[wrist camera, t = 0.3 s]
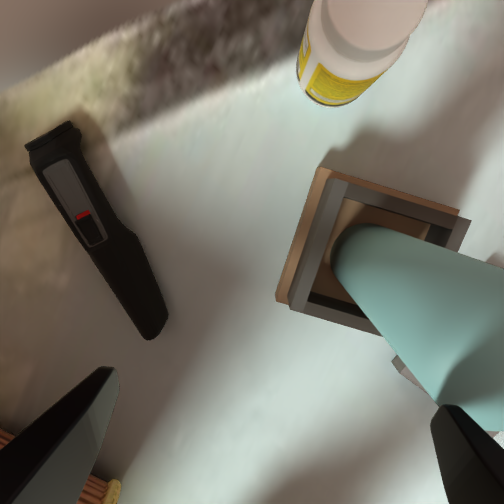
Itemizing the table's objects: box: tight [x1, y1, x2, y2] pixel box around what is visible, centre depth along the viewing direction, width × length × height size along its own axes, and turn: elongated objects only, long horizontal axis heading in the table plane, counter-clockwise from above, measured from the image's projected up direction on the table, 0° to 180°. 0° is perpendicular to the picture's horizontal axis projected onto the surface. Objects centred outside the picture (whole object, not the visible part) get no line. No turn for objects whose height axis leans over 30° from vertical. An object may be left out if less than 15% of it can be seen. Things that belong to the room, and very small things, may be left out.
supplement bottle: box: [296, 0, 428, 108], centre depth 17 cm, size 5×5×8 cm
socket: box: [275, 167, 472, 337], centre depth 21 cm, size 9×9×4 cm
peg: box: [330, 223, 504, 431], centre depth 15 cm, size 5×5×13 cm
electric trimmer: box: [25, 120, 168, 340], centre depth 22 cm, size 4×16×3 cm, turn 26°
